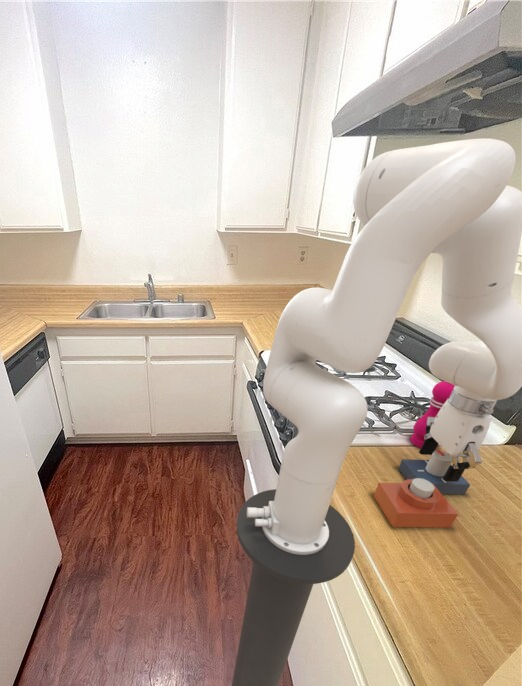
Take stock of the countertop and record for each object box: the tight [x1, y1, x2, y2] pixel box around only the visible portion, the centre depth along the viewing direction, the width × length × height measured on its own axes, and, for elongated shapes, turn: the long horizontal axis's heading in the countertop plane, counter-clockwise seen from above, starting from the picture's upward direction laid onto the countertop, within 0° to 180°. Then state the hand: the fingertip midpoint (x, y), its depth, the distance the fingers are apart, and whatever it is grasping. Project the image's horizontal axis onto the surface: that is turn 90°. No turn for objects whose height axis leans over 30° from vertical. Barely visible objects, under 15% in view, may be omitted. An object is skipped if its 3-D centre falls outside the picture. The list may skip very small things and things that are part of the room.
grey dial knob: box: [426, 449, 453, 477], centre depth 80 cm, size 4×4×5 cm
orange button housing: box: [373, 479, 459, 529], centre depth 73 cm, size 12×9×6 cm
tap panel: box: [398, 458, 471, 495], centre depth 82 cm, size 11×9×3 cm
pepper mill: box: [410, 380, 455, 449], centre depth 91 cm, size 7×7×20 cm
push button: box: [409, 478, 434, 498], centre depth 71 cm, size 4×4×2 cm
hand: (437, 466), depth 80 cm, fingers open, 9 cm apart
